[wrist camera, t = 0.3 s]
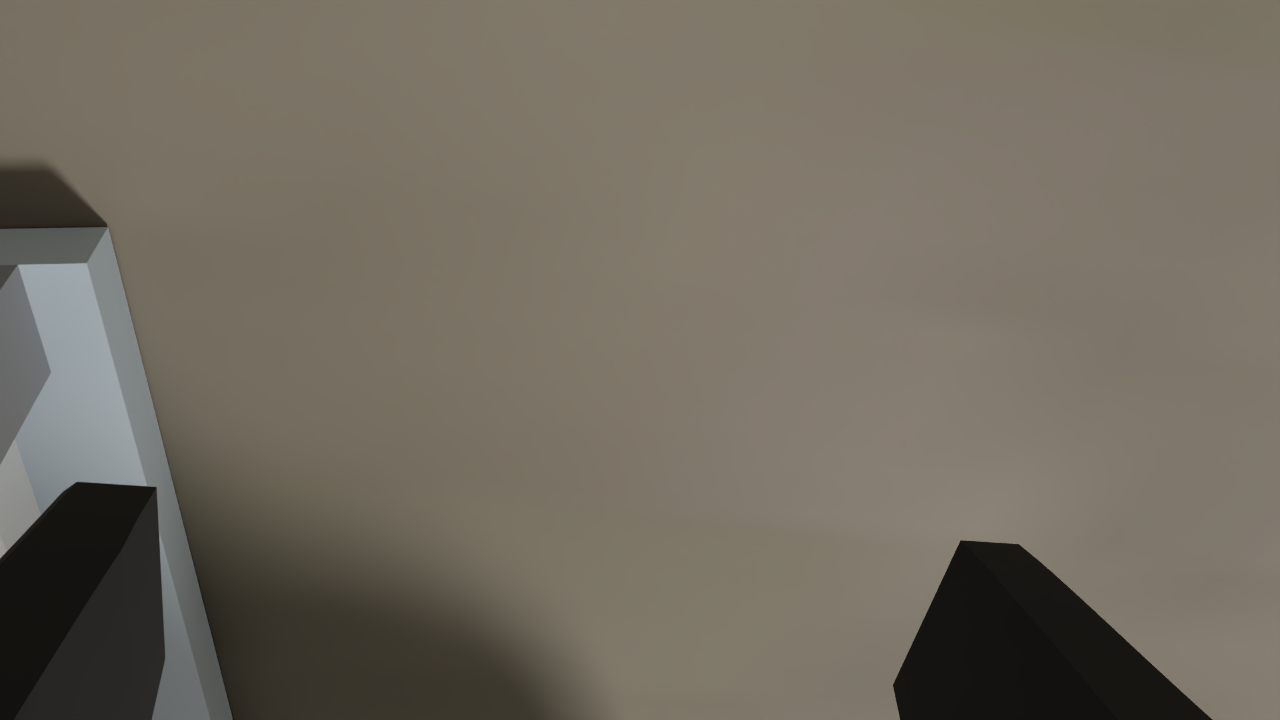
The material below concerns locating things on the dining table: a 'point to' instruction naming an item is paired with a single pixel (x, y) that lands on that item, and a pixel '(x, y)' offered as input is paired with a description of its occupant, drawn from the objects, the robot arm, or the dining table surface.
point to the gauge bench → (92, 428)
